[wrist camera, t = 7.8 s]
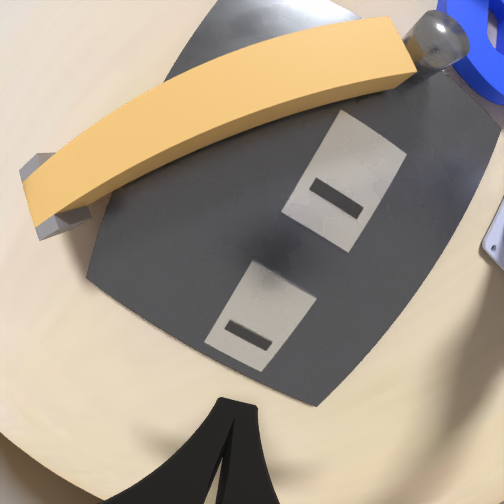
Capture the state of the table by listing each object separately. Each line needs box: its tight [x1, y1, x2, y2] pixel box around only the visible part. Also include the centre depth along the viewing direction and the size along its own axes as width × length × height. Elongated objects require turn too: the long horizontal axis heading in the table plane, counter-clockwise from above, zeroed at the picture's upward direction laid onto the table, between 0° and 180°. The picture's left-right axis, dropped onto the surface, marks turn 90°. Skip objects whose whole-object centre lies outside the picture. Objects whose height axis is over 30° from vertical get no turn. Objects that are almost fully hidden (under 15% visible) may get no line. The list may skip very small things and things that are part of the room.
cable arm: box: [19, 16, 417, 241], centre depth 12 cm, size 20×4×3 cm, turn 110°
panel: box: [86, 0, 501, 407], centre depth 12 cm, size 18×22×6 cm
